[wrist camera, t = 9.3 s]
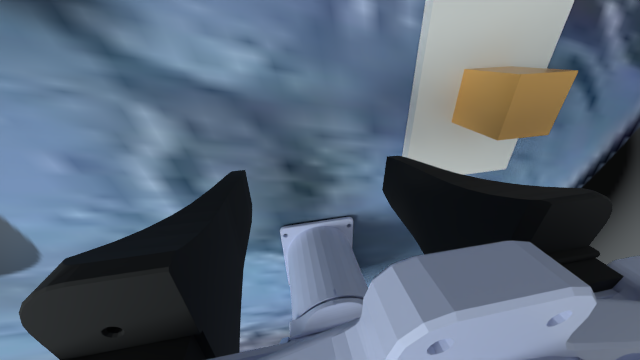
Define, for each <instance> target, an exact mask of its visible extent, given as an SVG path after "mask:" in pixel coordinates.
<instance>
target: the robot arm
mask: <svg viewBox="0 0 640 360" xmlns="http://www.w3.org/2000/svg"><path fill="white" fill-rule="evenodd" d="M382 190H383V192H384V194H385V196H386V198H387V200H388V202H389V204H390V206H391V207H392V208H393V210H394V211H395V212H396V214H397V215H398V217H399V218H400V219H401V221H402V222H403V223H404V225H405V226H406V227H407V229H408V230H409V231H410V233H411V234H412V235H413V237H414V238H415V240H416V241H417V243H418V244H419V246H420V248H421V250H422V251H423V253H424V255H418V256H413V257H410V258H407V259H404V260H401V261H398V262H396V263H393V264H391V265H389V266H388V267H387V268H385V269H384V270H383V271H382V272H380V273H379V274H378V275H377V276H375V277H374V278H373V280H372V282H371V284H370V286H369V288H368V287H367V284H366V282H365V279H364V277H363V275H362V272H361V270H360V267H359V265H358V262H357V260H356V257H355V255H354V252H353V250H352V241H353V219H352V217H343V218H337V219H330V220H323V221H317V222H310V223H303V224H297V225H290V226H284V227H282V228H281V229H280V233H281V240H282V246H283V252H284V258H285V264H286V270H287V276H288V282H289V285H290V291H291V303H292V316H293V321H290V322H289V328H290V337H287V338H283V339H282V340H281V342H280V344H278V345H273V346H269V347H264V348H259V349H254V350H249V351H245V352H240V353H239V344H240V317H241V297H242V281H243V268H244V261H245V256H246V250H247V245H248V239H249V234H250V228H251V223H252V202H251V197H250V192H249V187H248V182H247V177H246V172H245V170H242V171H232V172H230V173H229V174H228V175H226V176H225V177H224V178H223V179H222V180H221V181H219V182H218V183H217V184H216V185H215V186H214V187H212V188H211V189H210V190H209V191H207V192H206V193H205V194H203V195H202V196H201V197H199V198H198V199H197V200H195V201H194V202H193V203H191V204H190V205H188V206H187V207H185V208H183V209H182V210H180V211H178V212H177V213H175V214H173V215H171V216H170V217H168V218H166V219H164V220H162V221H160V222H158V223H156V224H154V225H152V226H150V227H148V228H146V229H143V230H141V231H139V232H137V233H134V234H132V235H130V236H127V237H125V238H122V239H120V240H117V241H115V242H112V243H109V244H107V245H104V246H101V247H98V248H95V249H92V250H89V251H87V252H84V253H81V254H78V255H75V256H72V257H69V258H66V259H64V260H63V261H62V262H61V264H60V265H59V266H58V267H57V268H56V269H55V270H54V271H53V272H52V273H51V274H50V275H49V276H48V277H47V278H46V279H45V280H44V281H43V282H42V283H41V284H40V285H39V286H38V287H37V288H36V289H35V290H34V291H33V292H32V293H31V294H30V295H29V296H28V297H27V298H26V299H25V300H24V301H23V302H22V305H21V308H20V311H19V315H20V319H21V323H22V325H23V327H24V328H25V329H26V330H27V331H28V333H29V334H30V335H31V336H32V337H34V338H35V339H36V340H37V341H38V342H40V343H41V344H42V345H43V346H44V347H46V348H47V349H48V350H49V351H50V352H51V353H53V354H54V355H55V356H56V357H57V358H59V359H60V360H640V256H633V257H628V258H623V259H618V260H614V261H612V262H610V263H609V264H607V265H605V264H604V263H602V262H601V261H599V260H598V259H596V257H598V256H599V255H600V253H599V251H597V250H595V249H594V248H592V247H590V246H589V245H590V243H591V242H592V241H593V240H594V238H595V237H596V236H597V234H598V233H599V232H600V230H601V229H602V228H603V226H604V225H605V224H606V222H607V220H608V219H609V217H610V215H611V212H612V203H611V201H610V199H609V198H608V197H606V196H604V195H602V194H600V193H597V192H595V191H592V190H588V189H582V188H559V187H540V186H529V185H519V184H511V183H504V182H497V181H491V180H485V179H480V178H475V177H471V176H466V175H462V174H458V173H455V172H451V171H448V170H444V169H441V168H438V167H435V166H432V165H429V164H426V163H423V162H419V161H416V160H413V159H410V158H407V157H402V156H390V157H387V160H386V168H385V175H384V182H383V189H382ZM348 224H350V225H348ZM284 234H287V235H284Z"/></svg>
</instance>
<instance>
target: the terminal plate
mask: <svg viewBox="0 0 640 360" xmlns="http://www.w3.org/2000/svg"><path fill="white" fill-rule="evenodd" d="M573 3H574V0H426V2H425V8H424V15H423V22H422V28H421V35H420V41H419V48H418V55H417V61H416V68H415V74H414V81H413V87H412V94H411V101H410V107H409V114H408V120H407V127H406V134H405V140H404V147H403V153H402V157H407V158H410V159H413V160H416V161H419V162H423V163H426V164H429V165H432V166H435V167H438V168H441V169H444V170H448V171H451V172H455V173H458V174H462V175H464V174H472V173H479V172H487V171H494V170H502V169H506V167H507V165H508V162H509V160H510V157H511V155H512V152H513V150H514V148H515V145H516V143H517V140H518V138H515V139H506V140H498V141H497V140H495V139H492V138H490V137H487V136H485V135H482V134H480V133H477V132H475V131H472V130H470V129H467V128H464V127H462V126H459V125H457V124H454V123H452V118H453V114H454V110H455V105H456V101H457V97H458V93H459V89H460V85H461V81H462V77H463V73H464V69H475V68H491V67H508V66H514V67H530V68H546V69H547V67H548V64H549V62H550V59H551V57H552V54H553V52H554V49H555V47H556V45H557V42H558V40H559V37H560V35H561V32H562V30H563V27H564V25H565V22H566V20H567V18H568V15H569V13H570V10H571V8H572V5H573Z"/></svg>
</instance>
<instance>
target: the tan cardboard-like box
mask: <svg viewBox="0 0 640 360" xmlns="http://www.w3.org/2000/svg"><path fill="white" fill-rule="evenodd" d="M577 73H578V70H562V69H546V68H530V67H514V66H508V67H491V68H475V69H464V73H463V77H462V81H461V85H460V89H459V93H458V97H457V101H456V105H455V110H454V114H453V118H452V123H454V124H457V125H459V126H462V127H464V128H467V129H470V130H472V131H475V132H477V133H480V134H482V135H485V136H487V137H490V138H492V139H495V140H497V141H498V140H506V139H515V138H524V137H533V136H542V135H548V134H549V132H550V130H551V128H552V126H553V124H554V122H555V120H556V118H557V115H558V113H559V111H560V109H561V107H562V105H563V103H564V101H565V98H566V96H567V94H568V92H569V90H570V88H571V86H572V84H573V81H574V79H575V77H576V75H577Z"/></svg>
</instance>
